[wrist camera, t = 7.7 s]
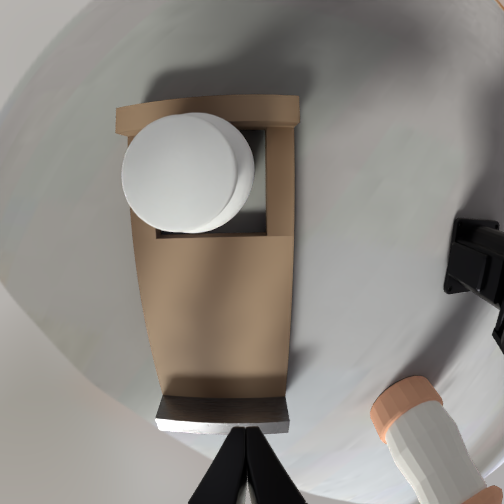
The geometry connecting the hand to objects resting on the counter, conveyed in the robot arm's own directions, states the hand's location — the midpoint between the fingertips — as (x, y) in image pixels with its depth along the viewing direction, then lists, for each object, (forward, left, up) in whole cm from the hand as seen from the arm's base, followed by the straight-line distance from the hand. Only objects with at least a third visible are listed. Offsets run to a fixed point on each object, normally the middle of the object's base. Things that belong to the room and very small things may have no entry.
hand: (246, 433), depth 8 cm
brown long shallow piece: (+2, -1, -12) cm, 12 cm away
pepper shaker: (-16, +14, -12) cm, 25 cm away
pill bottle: (+2, -8, -12) cm, 15 cm away
